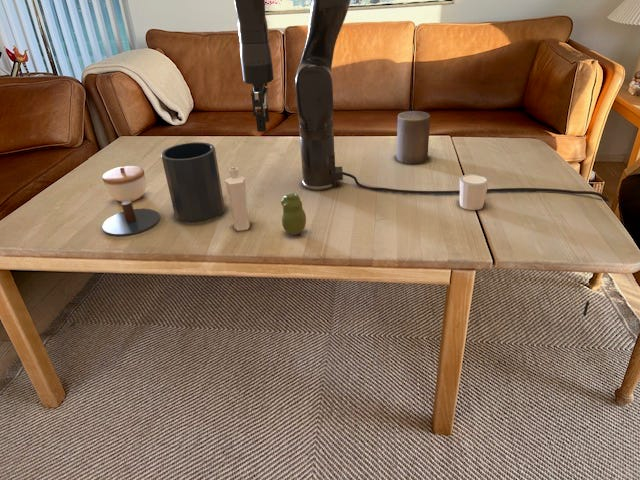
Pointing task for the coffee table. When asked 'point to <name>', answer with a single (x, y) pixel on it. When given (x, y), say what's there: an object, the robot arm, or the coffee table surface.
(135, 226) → the lid
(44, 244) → the coffee table surface
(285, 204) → the green figurine
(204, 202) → the canister
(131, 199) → the trinket box
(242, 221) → the perfume bottle
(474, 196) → the white cylinder
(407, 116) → the pillar candle
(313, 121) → the robot arm
